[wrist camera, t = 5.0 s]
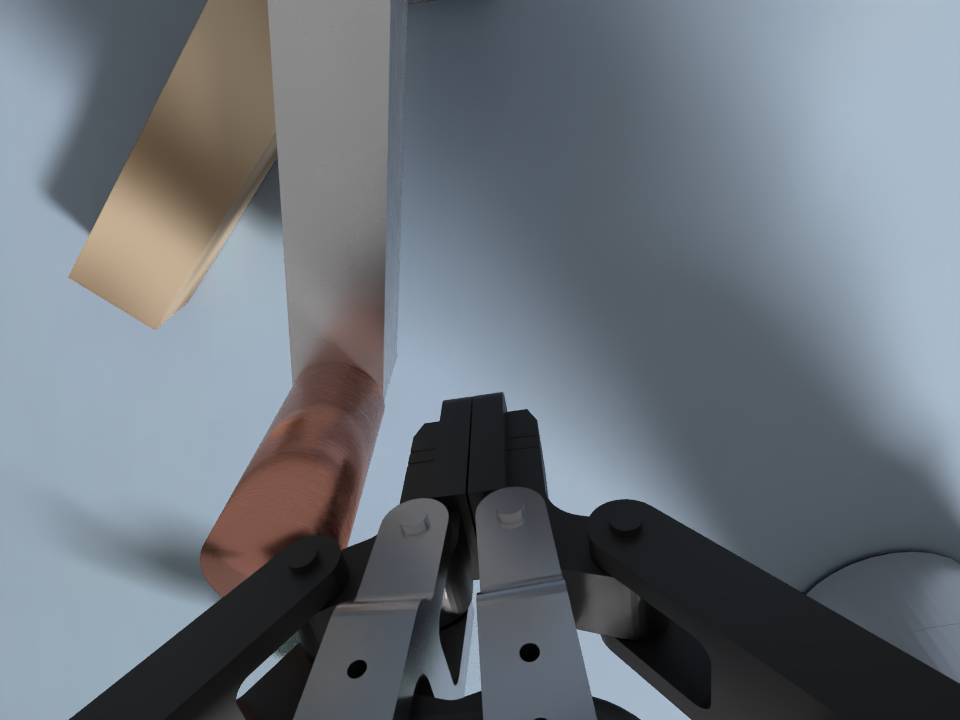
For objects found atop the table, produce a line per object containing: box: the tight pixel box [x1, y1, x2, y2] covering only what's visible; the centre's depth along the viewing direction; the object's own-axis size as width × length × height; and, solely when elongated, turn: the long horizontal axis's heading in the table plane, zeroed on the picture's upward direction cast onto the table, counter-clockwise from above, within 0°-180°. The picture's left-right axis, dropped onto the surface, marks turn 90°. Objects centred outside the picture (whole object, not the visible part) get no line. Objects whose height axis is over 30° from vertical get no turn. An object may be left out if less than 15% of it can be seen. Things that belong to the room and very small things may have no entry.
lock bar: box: [200, 0, 408, 597], centre depth 12 cm, size 16×4×9 cm, turn 175°
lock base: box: [69, 0, 432, 330], centre depth 15 cm, size 16×15×6 cm
